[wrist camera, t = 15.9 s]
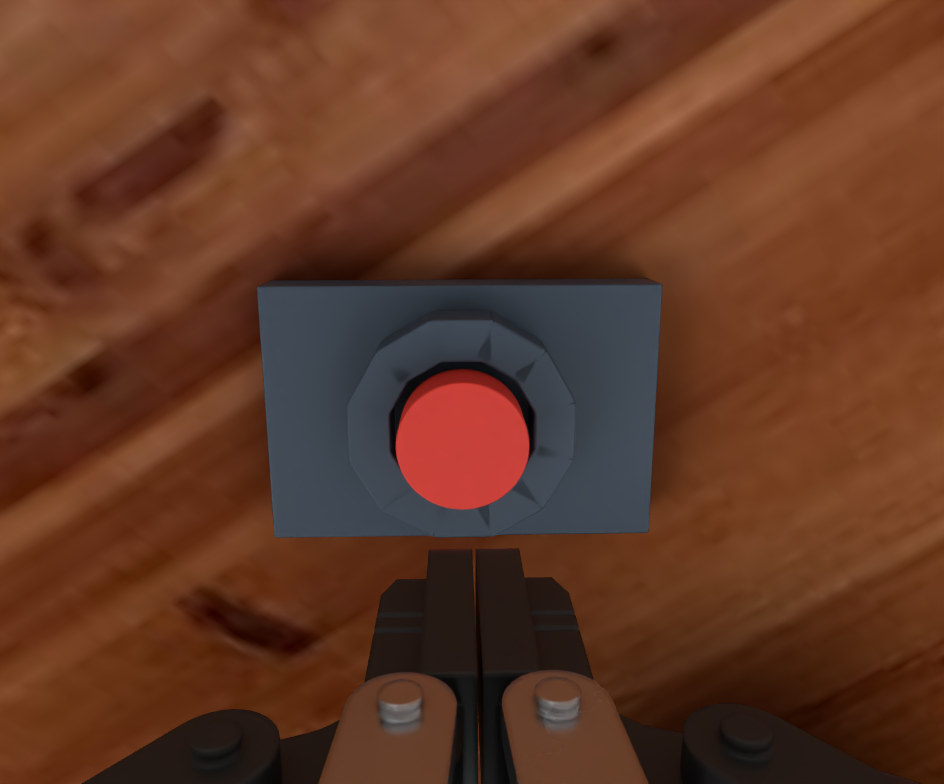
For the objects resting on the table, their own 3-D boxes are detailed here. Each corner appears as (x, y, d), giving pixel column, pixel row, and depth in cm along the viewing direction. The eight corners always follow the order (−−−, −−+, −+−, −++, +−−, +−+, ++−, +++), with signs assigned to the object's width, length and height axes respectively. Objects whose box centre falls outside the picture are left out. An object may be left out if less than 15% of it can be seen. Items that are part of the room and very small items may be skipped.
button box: (285, 517, 26) (260, 564, 23) (269, 280, 24) (239, 293, 21) (637, 512, 27) (663, 558, 23) (649, 278, 25) (680, 290, 21)
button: (401, 487, 23) (396, 511, 21) (398, 368, 22) (393, 382, 20) (523, 486, 23) (528, 509, 21) (525, 367, 22) (530, 381, 20)
